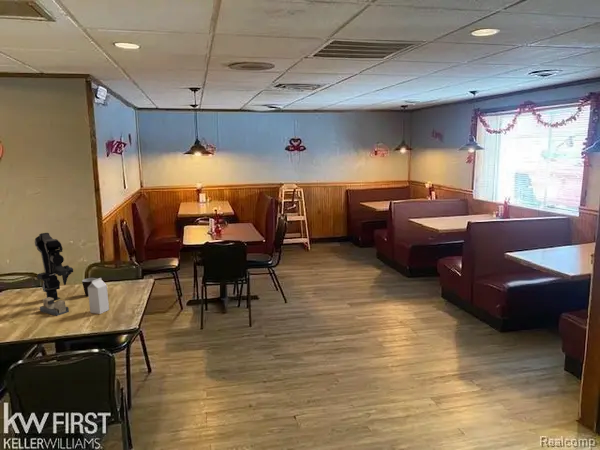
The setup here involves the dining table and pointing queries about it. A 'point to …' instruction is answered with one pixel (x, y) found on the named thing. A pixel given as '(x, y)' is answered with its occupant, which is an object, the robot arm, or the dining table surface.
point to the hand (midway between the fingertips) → (57, 287)
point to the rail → (52, 311)
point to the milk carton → (98, 296)
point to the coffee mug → (87, 285)
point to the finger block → (48, 303)
